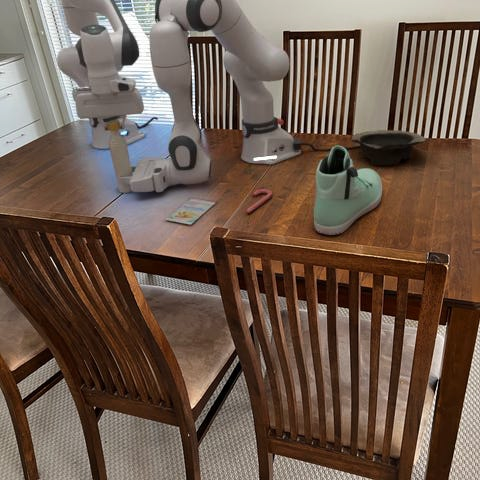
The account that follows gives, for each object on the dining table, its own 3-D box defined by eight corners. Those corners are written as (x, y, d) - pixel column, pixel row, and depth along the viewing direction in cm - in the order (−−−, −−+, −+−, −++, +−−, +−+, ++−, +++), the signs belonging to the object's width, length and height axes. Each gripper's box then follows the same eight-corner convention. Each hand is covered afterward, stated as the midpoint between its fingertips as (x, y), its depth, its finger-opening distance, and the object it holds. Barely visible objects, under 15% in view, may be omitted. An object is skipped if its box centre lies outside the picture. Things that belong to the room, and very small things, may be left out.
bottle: (119, 186, 164) (105, 122, 152) (136, 184, 164) (123, 120, 152) (118, 193, 159) (103, 127, 147) (134, 191, 159) (121, 125, 147)
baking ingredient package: (164, 218, 140) (191, 197, 151) (165, 220, 140) (191, 199, 151) (190, 223, 136) (215, 201, 148) (190, 225, 136) (216, 203, 148)
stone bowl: (384, 176, 155) (384, 148, 151) (336, 158, 175) (335, 133, 171) (440, 157, 164) (442, 130, 159) (388, 142, 184) (389, 118, 180)
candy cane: (232, 210, 143) (232, 206, 142) (259, 190, 153) (259, 186, 152) (249, 215, 140) (248, 210, 139) (276, 194, 150) (275, 190, 149)
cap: (118, 126, 153) (117, 119, 151) (122, 129, 150) (120, 122, 149) (107, 128, 151) (105, 121, 150) (110, 131, 148) (108, 124, 147)
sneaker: (389, 187, 148) (396, 123, 138) (356, 242, 123) (361, 168, 112) (346, 181, 154) (350, 119, 144) (306, 232, 129) (307, 161, 118)
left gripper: (67, 90, 141) (79, 135, 148) (137, 84, 141) (145, 130, 148) (73, 85, 146) (84, 129, 153) (140, 79, 146) (147, 123, 153)
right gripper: (165, 151, 165) (125, 154, 166) (157, 176, 148) (112, 178, 148) (168, 168, 169) (129, 171, 169) (160, 194, 151) (117, 197, 152)
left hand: (114, 129), depth 151 cm, fingers closed on cap, 3 cm apart
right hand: (121, 175), depth 159 cm, fingers closed on bottle, 5 cm apart
